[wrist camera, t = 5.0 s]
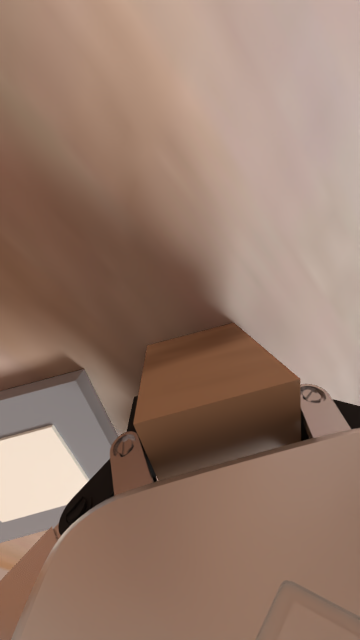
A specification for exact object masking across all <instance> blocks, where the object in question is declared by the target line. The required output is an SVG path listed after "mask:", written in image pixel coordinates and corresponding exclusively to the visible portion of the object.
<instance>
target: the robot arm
mask: <svg viewBox="0 0 360 640" xmlns="http://www.w3.org/2000/svg"><path fill="white" fill-rule="evenodd" d="M300 397H301V441H300V442H296V443H293V444H289V445H285V446H282V447H278V448H274V449H270V450H267V451H263V452H259V453H256V454H252V455H249V456H245V457H241V458H238V459H234V460H230V461H227V462H223V463H220V464H216V465H212V466H209V467H205V468H202V469H198V470H195V471H191V472H188V473H184V474H181V475H177V476H174V477H170V478H167V479H163V480H160V481H158V480H157V477H156V474H155V472H154V469H153V467H152V465H151V463H150V461H149V458H148V456H147V454H146V452H145V449H144V447H143V445H142V443H141V440H140V438H139V436H138V434H137V432H136V429H135V427H134V425H133V423H134V417H135V411H136V406H137V400H138V396H136V397H134V400H133V404H132V409H131V414H130V419H129V424H128V429H127V432H125V433H123V434H121V435H120V436H119V437H117V439H116V440H115V441H114V442H113V444H112V446H111V448H110V459H109V460H108V461H107V462H106V463H105V464H104V465H103V466H102V467H101V468H100V470H99V471H98V472H97V473H96V474H95V475H94V476H93V477H92V478H91V479H90V480H89V481H88V482H87V483H86V484H85V485H84V486H83V488H82V489H81V490H80V491H79V492H78V493H77V494H76V495H75V496H74V497H73V498H72V499H71V500H70V502H69V503H68V504H67V506H66V507H65V509H64V511H63V512H62V515H61V517H60V520H59V523H58V524H57V525H56V526H55V528H53V527H52V526H51V528H50V529H49V530H48V531H47V532H46V533H45V534H44V535H43V536H42V537H41V538H40V539H39V540H38V541H37V542H36V543H35V545H34V546H33V547H32V548H31V549H30V550H29V551H28V552H27V553H26V554H25V555H24V556H23V557H22V558H21V559H20V561H19V562H18V563H17V564H16V565H15V566H14V567H13V568H12V569H11V570H10V571H9V572H8V573H7V574H6V575H5V577H4V578H3V579H2V580H1V581H0V640H360V406H357V405H353V404H349V403H345V402H341V401H337V400H333V399H332V398H331V397H330V395H329V394H328V393H327V391H326V390H324V389H323V388H321V387H319V386H316V385H312V384H301V385H300Z"/></svg>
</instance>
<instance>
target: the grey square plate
mask: <svg viewBox="0 0 360 640" xmlns="http://www.w3.org/2000/svg"><path fill="white" fill-rule="evenodd" d="M117 437H118V435H117V433H116V431H115V429H114V427H113V425H112V423H111V421H110V420H109V418H108V416H107V414H106V412H105V410H104V408H103V406H102V404H101V402H100V400H99V398H98V396H97V394H96V392H95V390H94V388H93V386H92V384H91V382H90V380H89V378H88V376H87V374H86V372H85V370H84V369H82V370H79V371H75V372H71V373H67V374H63V375H60V376H56V377H52V378H48V379H45V380H41V381H37V382H33V383H29V384H26V385H22V386H18V387H14V388H11V389H7V390H3V391H0V543H1V542H5V541H9V540H12V539H16V538H19V537H23V536H27V535H30V534H34V533H37V532H41V531H45V530H48V529H50V528H51V526H52V527H53V528H55V526H56V525H57V524H58V523H59V520H60V517H61V515H62V512H63V511H64V509H65V507H66V506H67V504H68V503H69V502H70V500H71V499H72V498H73V497H74V496H75V495H76V494H77V493H78V492H79V491H80V490H81V489H82V488H83V486H84V485H85V484H86V483H87V482H88V481H89V480H90V479H91V478H92V477H93V476H94V475H95V474H96V473H97V472H98V471H99V470H100V468H101V467H102V466H103V465H104V464H105V463H106V462H107V461H108V460H109V459H110V448H111V446H112V444H113V442H114V441H115V440H116V439H117Z"/></svg>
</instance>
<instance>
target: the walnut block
mask: <svg viewBox="0 0 360 640" xmlns="http://www.w3.org/2000/svg"><path fill="white" fill-rule="evenodd" d="M133 425H134V427H135V429H136V432H137V434H138V436H139V438H140V440H141V443H142V445H143V447H144V449H145V452H146V454H147V456H148V458H149V461H150V463H151V465H152V467H153V469H154V472H155V474H156V476H157V478H158V481H160V480H163V479H167V478H170V477H174V476H177V475H181V474H184V473H188V472H191V471H195V470H198V469H202V468H205V467H209V466H212V465H216V464H220V463H223V462H227V461H230V460H234V459H238V458H241V457H245V456H249V455H252V454H256V453H259V452H263V451H267V450H270V449H274V448H278V447H282V446H285V445H289V444H293V443H296V442H300V441H301V397H300V378H298V377H297V376H296V375H295V374H294V373H293V372H291V371H290V370H289V369H288V368H287V367H286V366H284V365H283V364H282V363H281V362H280V361H278V360H277V359H276V358H275V357H274V356H273V355H271V354H270V353H269V352H268V351H267V350H266V349H264V348H263V347H262V346H261V345H260V344H258V343H257V342H256V341H255V340H254V339H253V338H251V337H250V336H249V335H248V334H247V333H246V332H244V331H243V330H242V329H241V328H240V327H238V326H237V325H236V324H235V323H230V324H227V325H223V326H219V327H215V328H212V329H208V330H204V331H200V332H196V333H193V334H189V335H185V336H181V337H177V338H174V339H170V340H166V341H162V342H159V343H155V344H151V345H147V349H146V355H145V360H144V366H143V372H142V377H141V383H140V389H139V394H138V400H137V406H136V411H135V417H134V423H133Z"/></svg>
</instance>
